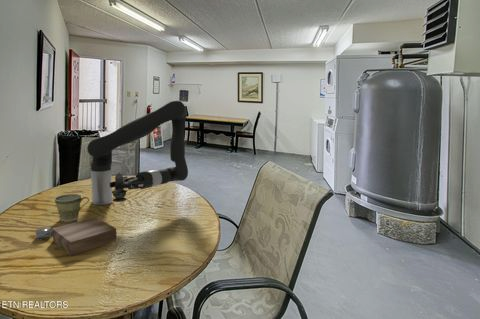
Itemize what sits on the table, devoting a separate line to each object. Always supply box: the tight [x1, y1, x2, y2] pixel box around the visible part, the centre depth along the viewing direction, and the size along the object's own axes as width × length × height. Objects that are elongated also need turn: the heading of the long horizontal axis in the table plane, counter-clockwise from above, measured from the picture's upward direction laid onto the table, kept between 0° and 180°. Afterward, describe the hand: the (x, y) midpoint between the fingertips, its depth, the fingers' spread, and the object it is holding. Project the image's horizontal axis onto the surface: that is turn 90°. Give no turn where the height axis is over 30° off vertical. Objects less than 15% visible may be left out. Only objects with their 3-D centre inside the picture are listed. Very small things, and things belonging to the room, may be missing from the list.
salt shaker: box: [112, 171, 128, 203], centre depth 125 cm, size 6×6×12 cm
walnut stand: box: [51, 216, 118, 257], centre depth 112 cm, size 16×16×5 cm
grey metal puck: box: [35, 226, 53, 240], centre depth 114 cm, size 5×5×3 cm
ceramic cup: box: [54, 193, 90, 223], centre depth 131 cm, size 13×10×10 cm
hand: (112, 186), depth 123 cm, fingers closed on salt shaker, 3 cm apart
